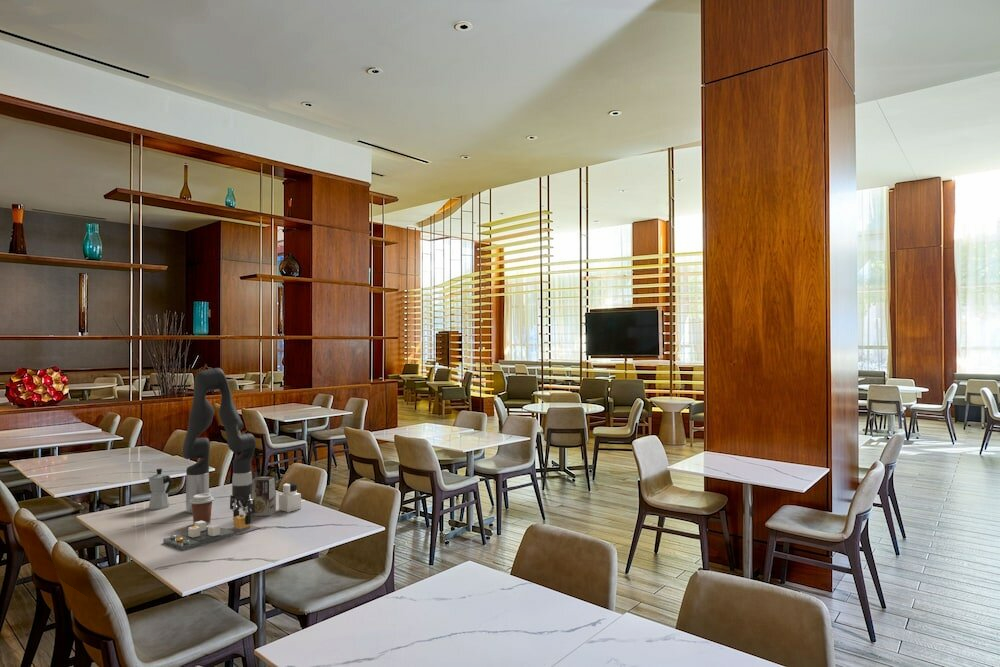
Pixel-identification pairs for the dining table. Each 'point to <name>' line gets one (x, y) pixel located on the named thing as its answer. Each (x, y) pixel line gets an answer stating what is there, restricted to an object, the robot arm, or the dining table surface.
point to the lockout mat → (243, 530)
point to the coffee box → (264, 495)
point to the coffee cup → (202, 507)
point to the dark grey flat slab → (196, 539)
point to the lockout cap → (240, 523)
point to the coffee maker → (159, 490)
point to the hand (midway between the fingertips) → (242, 522)
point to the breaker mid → (194, 531)
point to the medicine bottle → (289, 498)
